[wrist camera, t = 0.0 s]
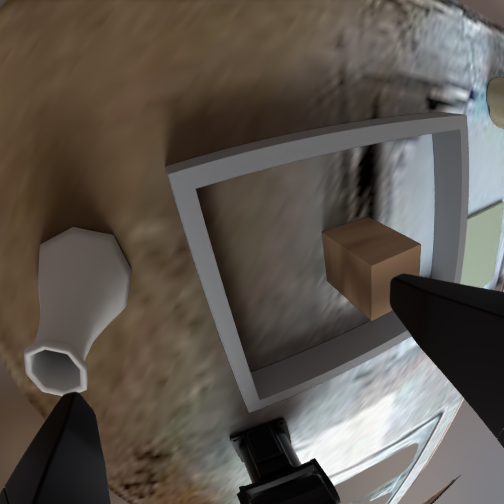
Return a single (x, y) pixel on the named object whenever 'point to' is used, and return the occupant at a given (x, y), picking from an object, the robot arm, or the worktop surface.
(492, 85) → the flower pot
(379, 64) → the worktop surface
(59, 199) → the worktop surface
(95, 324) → the flask
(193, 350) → the worktop surface
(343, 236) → the walnut block
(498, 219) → the mat
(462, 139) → the grey rimmed tray
